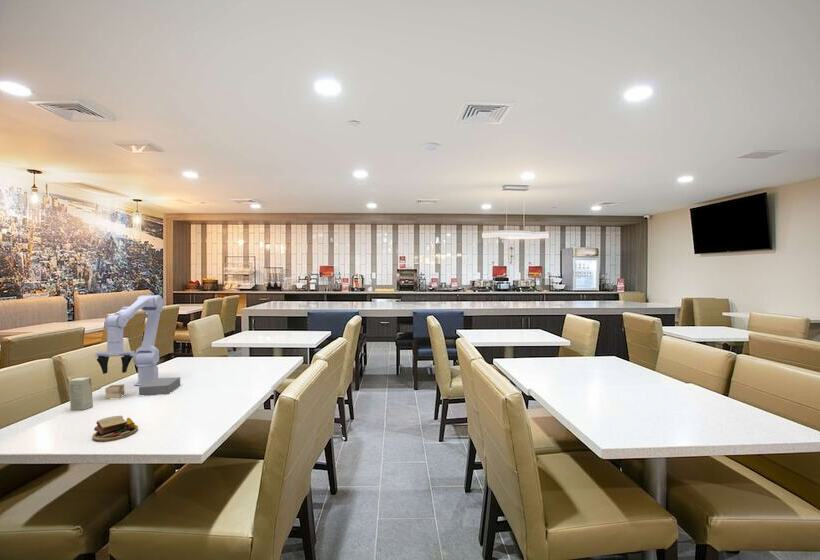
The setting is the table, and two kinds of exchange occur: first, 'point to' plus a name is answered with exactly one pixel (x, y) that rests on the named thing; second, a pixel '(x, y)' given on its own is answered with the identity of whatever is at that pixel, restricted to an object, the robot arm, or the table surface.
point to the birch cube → (114, 391)
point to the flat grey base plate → (159, 386)
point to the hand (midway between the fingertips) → (114, 372)
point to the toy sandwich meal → (114, 428)
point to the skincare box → (80, 393)
